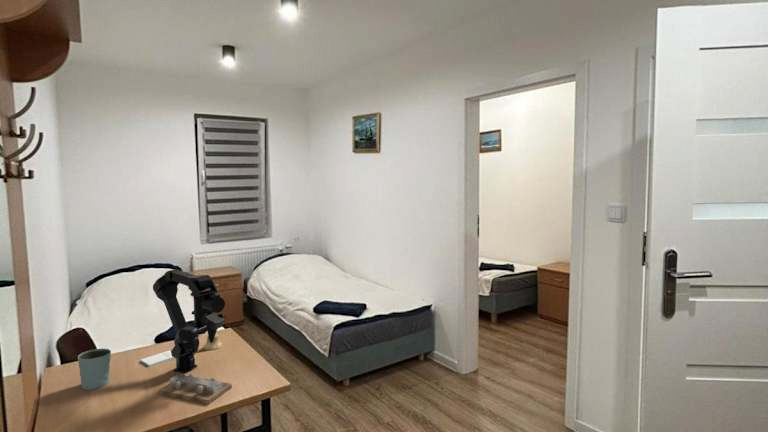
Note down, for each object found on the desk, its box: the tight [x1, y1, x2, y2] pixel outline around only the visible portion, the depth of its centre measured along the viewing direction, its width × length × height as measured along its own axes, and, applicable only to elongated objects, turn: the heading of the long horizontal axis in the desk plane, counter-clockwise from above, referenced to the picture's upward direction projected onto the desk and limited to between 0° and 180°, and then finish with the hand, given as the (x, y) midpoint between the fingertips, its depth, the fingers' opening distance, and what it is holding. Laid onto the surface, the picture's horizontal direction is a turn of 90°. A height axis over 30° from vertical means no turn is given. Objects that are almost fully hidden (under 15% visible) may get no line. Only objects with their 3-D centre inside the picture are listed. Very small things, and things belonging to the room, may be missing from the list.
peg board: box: [158, 372, 233, 405], centre depth 152 cm, size 22×12×4 cm, turn 72°
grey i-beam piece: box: [169, 373, 223, 394], centre depth 152 cm, size 20×4×2 cm, turn 72°
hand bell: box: [202, 312, 223, 351], centre depth 192 cm, size 8×8×16 cm
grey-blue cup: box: [77, 348, 112, 391], centre depth 156 cm, size 10×10×12 cm
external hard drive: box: [139, 350, 176, 368], centre depth 179 cm, size 2×8×12 cm
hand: (203, 347), depth 162 cm, fingers open, 9 cm apart
